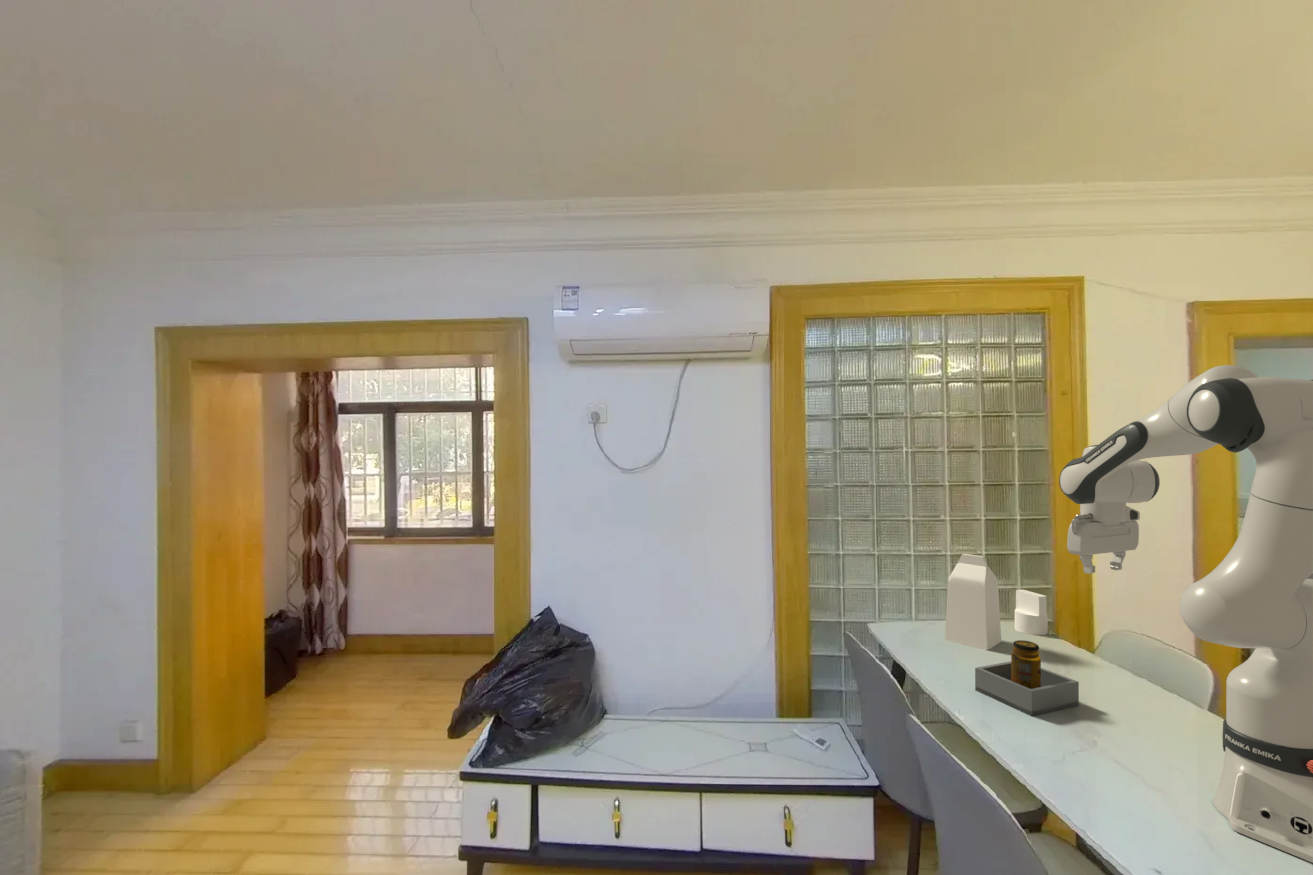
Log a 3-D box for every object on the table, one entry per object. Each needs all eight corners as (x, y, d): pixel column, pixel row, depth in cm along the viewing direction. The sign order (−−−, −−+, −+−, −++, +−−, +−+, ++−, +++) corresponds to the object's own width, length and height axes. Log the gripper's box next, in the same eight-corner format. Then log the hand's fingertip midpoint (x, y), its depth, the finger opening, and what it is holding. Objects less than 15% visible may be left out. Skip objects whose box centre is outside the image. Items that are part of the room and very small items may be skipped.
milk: (944, 640, 188) (944, 555, 188) (960, 632, 196) (960, 550, 196) (986, 650, 179) (986, 560, 179) (1001, 641, 187) (1001, 555, 187)
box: (1078, 705, 143) (1078, 681, 143) (1031, 716, 137) (1031, 691, 137) (1019, 681, 157) (1019, 659, 157) (975, 690, 151) (975, 667, 151)
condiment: (1048, 695, 146) (1048, 644, 146) (1030, 704, 141) (1030, 651, 141) (1016, 685, 152) (1016, 636, 152) (998, 693, 147) (998, 642, 147)
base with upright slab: (1008, 627, 200) (1007, 590, 200) (1029, 625, 203) (1029, 588, 203) (1032, 636, 192) (1032, 597, 191) (1054, 633, 194) (1054, 595, 194)
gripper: (1086, 516, 139) (1086, 577, 140) (1144, 512, 147) (1144, 570, 147) (1059, 513, 145) (1059, 572, 145) (1116, 509, 153) (1116, 565, 153)
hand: (1102, 571), depth 146 cm, fingers open, 8 cm apart
